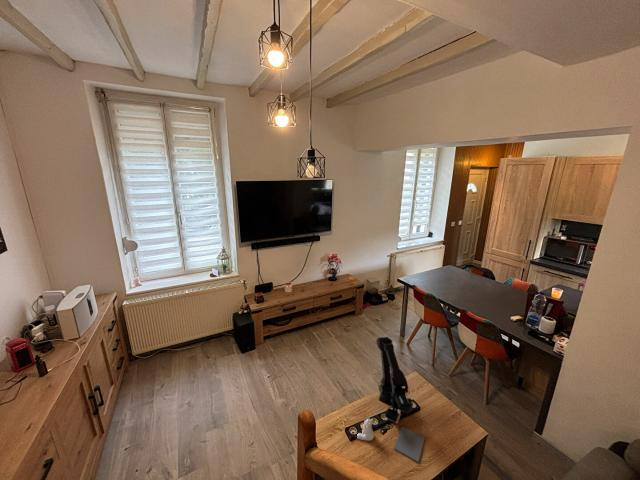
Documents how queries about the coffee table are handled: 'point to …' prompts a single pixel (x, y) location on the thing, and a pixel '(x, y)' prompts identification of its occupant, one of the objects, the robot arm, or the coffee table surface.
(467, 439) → the coffee table surface
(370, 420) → the white creature statuette
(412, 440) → the charcoal mat
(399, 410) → the terracotta cube
